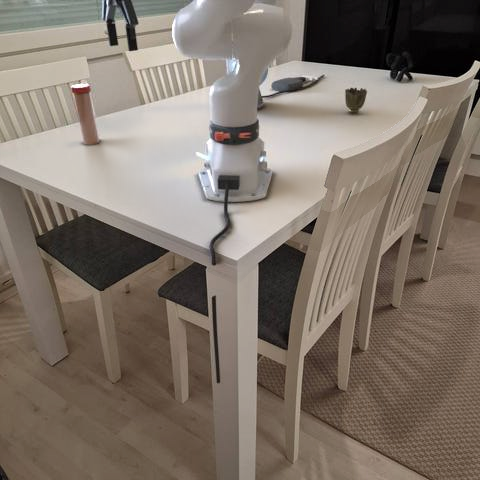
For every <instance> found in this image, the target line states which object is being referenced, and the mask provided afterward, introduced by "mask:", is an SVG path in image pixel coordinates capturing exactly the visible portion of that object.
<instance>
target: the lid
mask: <svg viewBox="0 0 480 480" xmlns="http://www.w3.org/2000/svg"><path fill="white" fill-rule="evenodd" d="M70 89H71V90H70V91H71V93H72V94H73V93H75V94H82V93H88V92H90V93H91V85H90V84H89V83H76V84H72V85H70Z"/></svg>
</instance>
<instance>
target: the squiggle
mask: <svg viewBox="0 0 480 480" xmlns="http://www.w3.org/2000/svg"><path fill="white" fill-rule="evenodd" d="M401 57H402V59H401ZM391 59H392V60H391ZM393 60H394V61H393ZM385 61H386V64H387V67H390V68H391V70H390V72H389V78H390V79H391V80H395V79H396V81H397V82H399V83H400V82H402V81H403V79H404V76H406V78H407V80H408V81H412V80H413V79H414V77H413V75H412V74H411V73H410V72H409V71H410V70H412V69H413V68H414V64H413V61H412V57H411V54H410V53H409V52H408V51H403V53H402V54H401V55H396V54H394V53H392V52H390V53H387V55H386V57H385ZM406 62H407V65H408V66H407V67H405V66H404V65H405V64H406ZM400 70H401V71H400Z"/></svg>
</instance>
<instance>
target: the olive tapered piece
mask: <svg viewBox="0 0 480 480" xmlns="http://www.w3.org/2000/svg"><path fill="white" fill-rule="evenodd" d="M367 94H368V90H367V88H363V87H361V88H360V89H358V88H357V87H355V88H354V87H350V88H346V89H345V90H344V95H345V96H344V97H345V99H344V100H345V101H344V102H345V105H346V108H347V109H348V113H349V114H352V115H356V114H359V113H360V109H362V107H364V105H365V102H366V99H367V98H366V97H367Z"/></svg>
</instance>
